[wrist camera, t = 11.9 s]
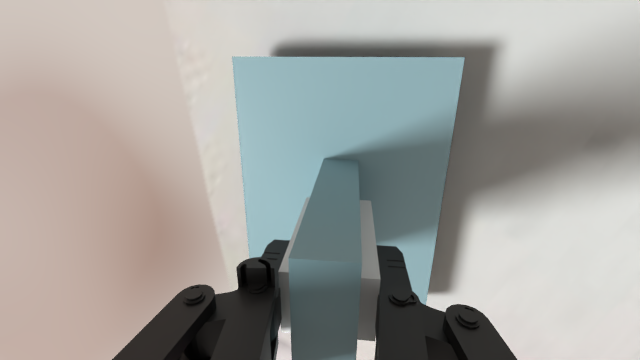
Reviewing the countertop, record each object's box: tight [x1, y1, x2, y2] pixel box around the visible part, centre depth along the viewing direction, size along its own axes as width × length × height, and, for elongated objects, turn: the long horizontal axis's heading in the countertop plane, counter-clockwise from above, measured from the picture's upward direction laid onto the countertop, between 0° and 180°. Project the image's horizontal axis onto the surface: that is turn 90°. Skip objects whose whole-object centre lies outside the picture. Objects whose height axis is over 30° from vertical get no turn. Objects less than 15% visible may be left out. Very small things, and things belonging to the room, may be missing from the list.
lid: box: [232, 57, 465, 360], centre depth 14 cm, size 17×12×11 cm
